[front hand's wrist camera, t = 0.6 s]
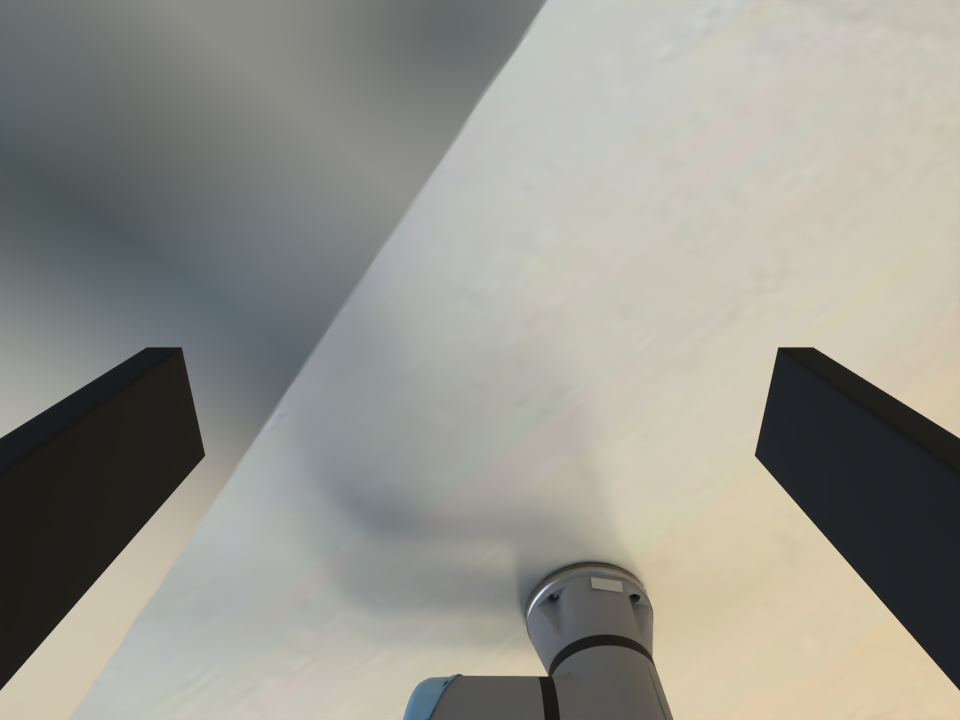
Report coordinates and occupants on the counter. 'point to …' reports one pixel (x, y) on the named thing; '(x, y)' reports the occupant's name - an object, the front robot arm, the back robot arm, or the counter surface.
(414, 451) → the counter surface
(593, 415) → the counter surface
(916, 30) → the counter surface
